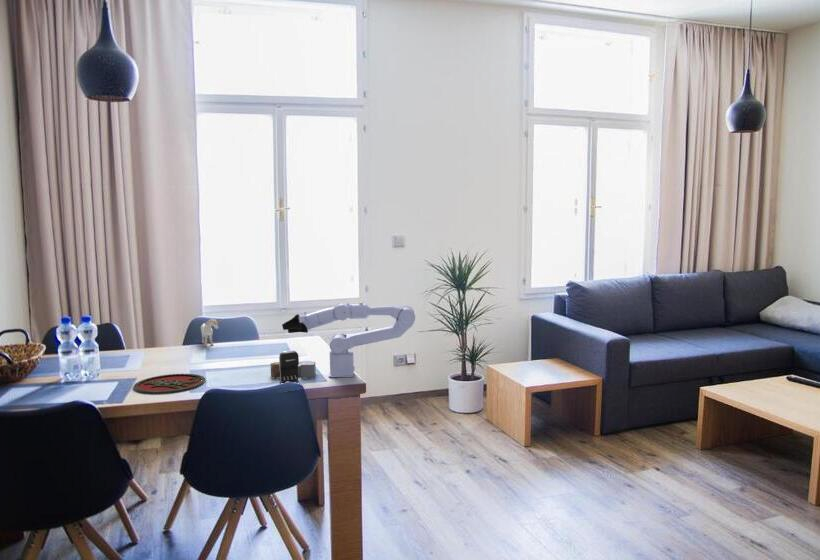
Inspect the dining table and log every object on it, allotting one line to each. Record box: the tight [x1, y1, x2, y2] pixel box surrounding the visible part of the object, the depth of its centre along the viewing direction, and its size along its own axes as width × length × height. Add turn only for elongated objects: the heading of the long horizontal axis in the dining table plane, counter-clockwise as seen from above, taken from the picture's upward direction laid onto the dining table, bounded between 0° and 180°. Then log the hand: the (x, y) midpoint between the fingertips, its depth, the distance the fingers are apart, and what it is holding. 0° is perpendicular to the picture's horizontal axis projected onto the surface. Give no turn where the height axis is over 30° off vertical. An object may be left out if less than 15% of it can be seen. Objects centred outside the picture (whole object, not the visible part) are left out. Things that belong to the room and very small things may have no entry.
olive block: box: [298, 363, 302, 377], centre depth 242 cm, size 6×4×4 cm, turn 92°
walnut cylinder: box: [270, 361, 280, 379], centre depth 240 cm, size 5×5×5 cm
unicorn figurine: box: [200, 318, 226, 347], centre depth 298 cm, size 7×20×13 cm, turn 46°
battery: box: [278, 350, 300, 383], centre depth 232 cm, size 7×4×11 cm, turn 116°
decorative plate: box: [133, 373, 207, 395], centre depth 230 cm, size 25×1×25 cm
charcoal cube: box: [300, 361, 317, 378], centre depth 240 cm, size 5×5×5 cm
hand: (285, 328), depth 238 cm, fingers open, 7 cm apart
